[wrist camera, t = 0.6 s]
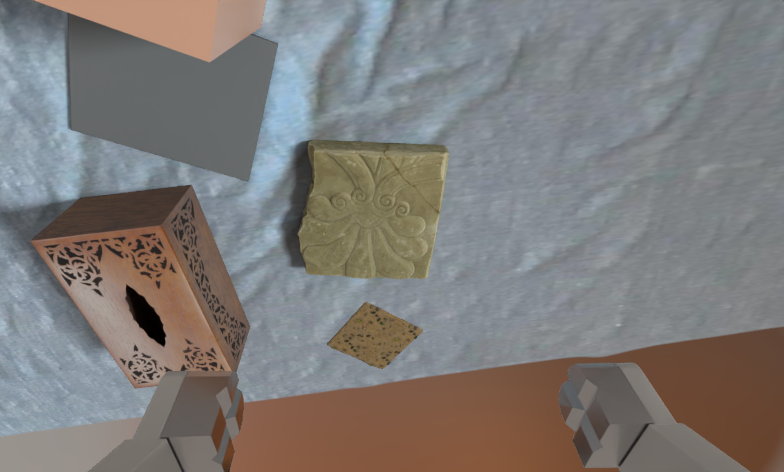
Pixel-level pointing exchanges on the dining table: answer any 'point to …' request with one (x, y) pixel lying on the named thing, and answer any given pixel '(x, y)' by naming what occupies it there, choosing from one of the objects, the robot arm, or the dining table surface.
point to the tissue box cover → (148, 281)
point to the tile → (175, 21)
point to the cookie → (374, 336)
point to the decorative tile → (372, 208)
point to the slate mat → (170, 96)
